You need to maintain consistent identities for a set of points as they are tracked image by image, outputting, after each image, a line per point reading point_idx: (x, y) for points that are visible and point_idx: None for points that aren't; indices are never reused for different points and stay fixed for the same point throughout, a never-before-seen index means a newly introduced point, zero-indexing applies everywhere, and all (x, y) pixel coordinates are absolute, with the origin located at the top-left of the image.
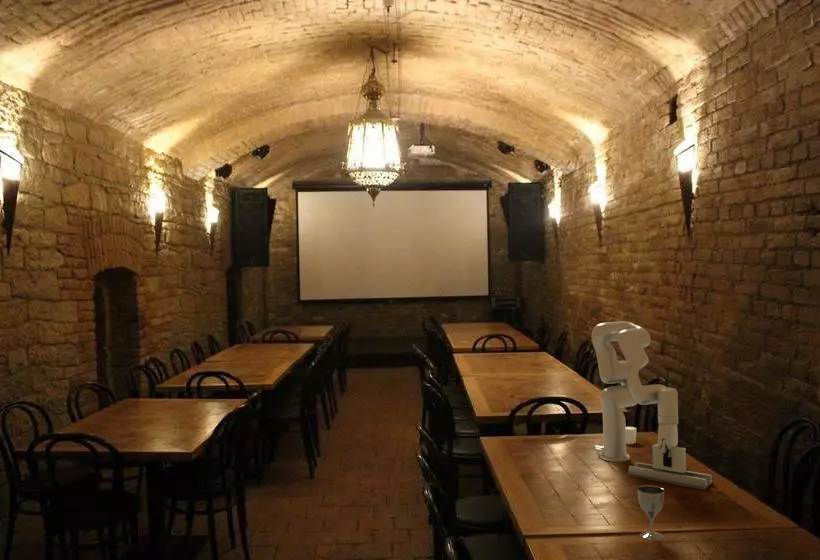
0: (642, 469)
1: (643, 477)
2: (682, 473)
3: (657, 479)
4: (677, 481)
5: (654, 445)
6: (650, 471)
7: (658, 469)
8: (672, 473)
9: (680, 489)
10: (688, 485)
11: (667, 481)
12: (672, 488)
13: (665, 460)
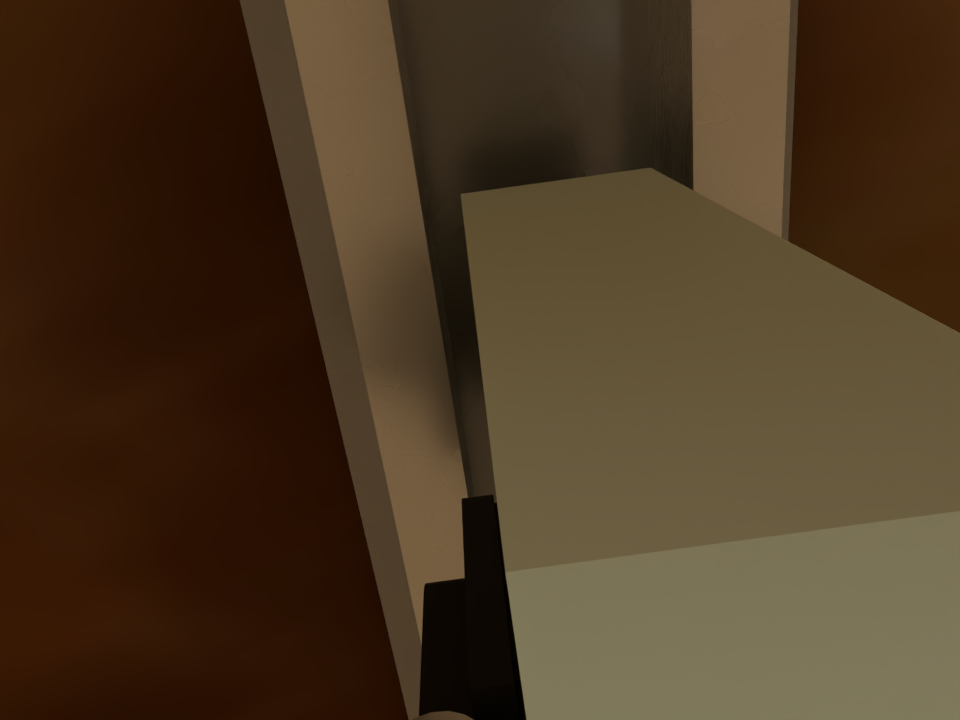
0: None
1: (256, 47)
2: None
3: (320, 328)
4: None
5: (609, 684)
6: (327, 191)
7: None
8: None
9: (255, 676)
10: (411, 717)
11: (353, 481)
12: (207, 602)
13: (423, 681)
